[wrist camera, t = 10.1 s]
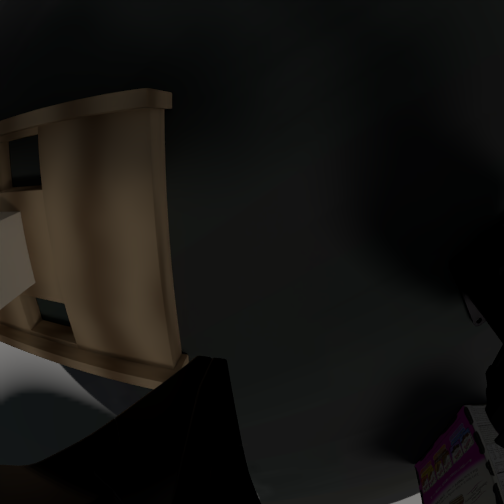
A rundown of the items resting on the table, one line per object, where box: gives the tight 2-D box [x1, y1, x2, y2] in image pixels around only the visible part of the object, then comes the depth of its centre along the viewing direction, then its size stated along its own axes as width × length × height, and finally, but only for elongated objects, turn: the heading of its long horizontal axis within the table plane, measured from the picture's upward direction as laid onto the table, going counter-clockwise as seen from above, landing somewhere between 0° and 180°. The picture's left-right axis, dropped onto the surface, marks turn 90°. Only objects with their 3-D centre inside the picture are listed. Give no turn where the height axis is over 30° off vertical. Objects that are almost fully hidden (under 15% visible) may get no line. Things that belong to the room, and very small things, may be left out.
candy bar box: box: [415, 404, 504, 504], centre depth 18 cm, size 11×5×16 cm, turn 172°
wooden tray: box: [0, 88, 189, 389], centre depth 21 cm, size 24×20×4 cm
